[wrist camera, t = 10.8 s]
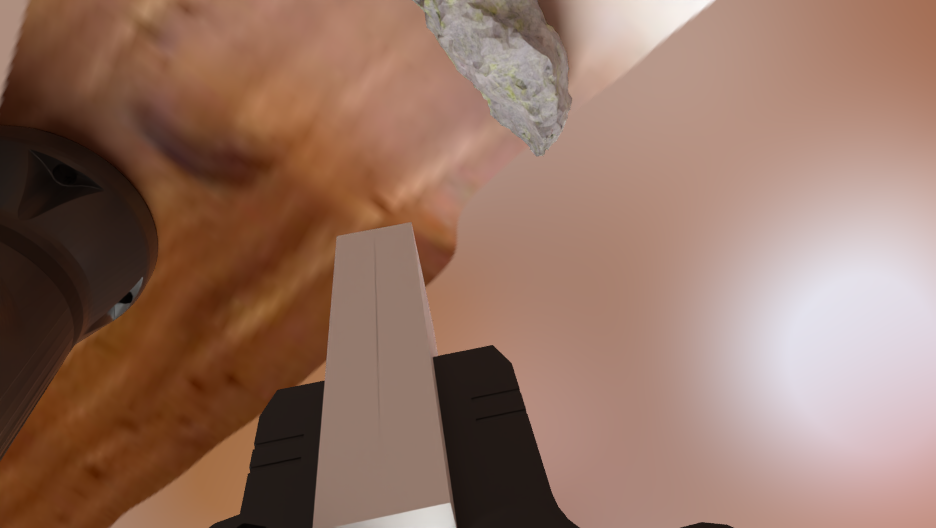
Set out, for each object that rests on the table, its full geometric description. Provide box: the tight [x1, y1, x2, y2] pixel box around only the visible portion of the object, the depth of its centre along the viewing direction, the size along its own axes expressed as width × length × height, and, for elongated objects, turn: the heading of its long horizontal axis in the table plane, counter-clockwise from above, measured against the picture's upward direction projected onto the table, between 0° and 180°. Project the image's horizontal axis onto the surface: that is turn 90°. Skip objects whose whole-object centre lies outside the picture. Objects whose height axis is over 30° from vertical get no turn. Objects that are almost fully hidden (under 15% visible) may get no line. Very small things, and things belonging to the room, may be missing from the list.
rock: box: [413, 0, 572, 156], centre depth 36 cm, size 16×7×7 cm, turn 37°
